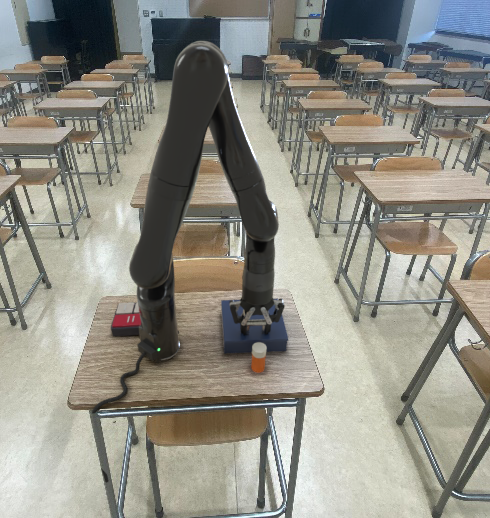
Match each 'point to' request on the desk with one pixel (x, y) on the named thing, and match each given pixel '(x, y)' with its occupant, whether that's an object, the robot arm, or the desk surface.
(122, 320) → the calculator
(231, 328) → the lid
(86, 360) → the desk surface
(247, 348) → the pencil box
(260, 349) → the glue stick
